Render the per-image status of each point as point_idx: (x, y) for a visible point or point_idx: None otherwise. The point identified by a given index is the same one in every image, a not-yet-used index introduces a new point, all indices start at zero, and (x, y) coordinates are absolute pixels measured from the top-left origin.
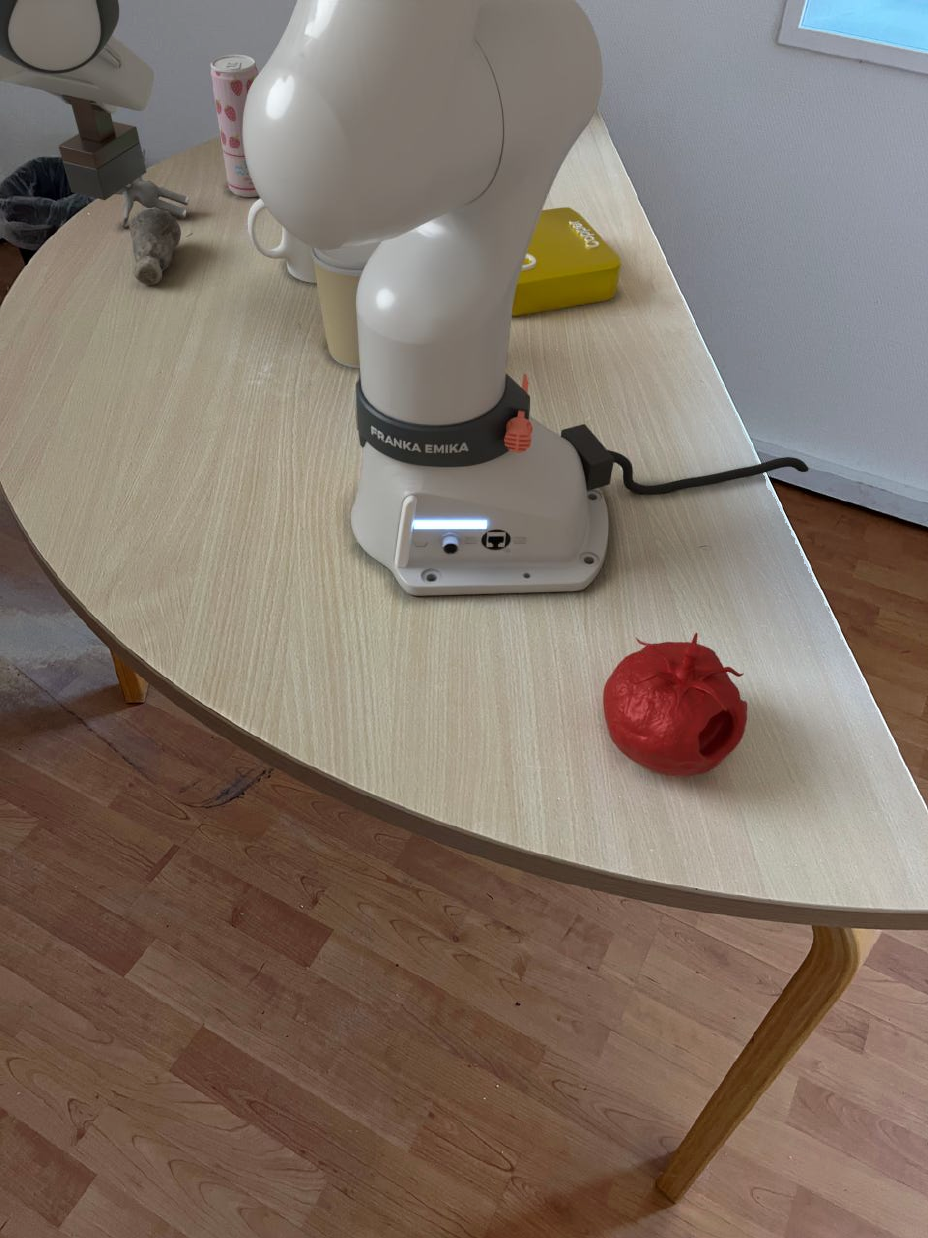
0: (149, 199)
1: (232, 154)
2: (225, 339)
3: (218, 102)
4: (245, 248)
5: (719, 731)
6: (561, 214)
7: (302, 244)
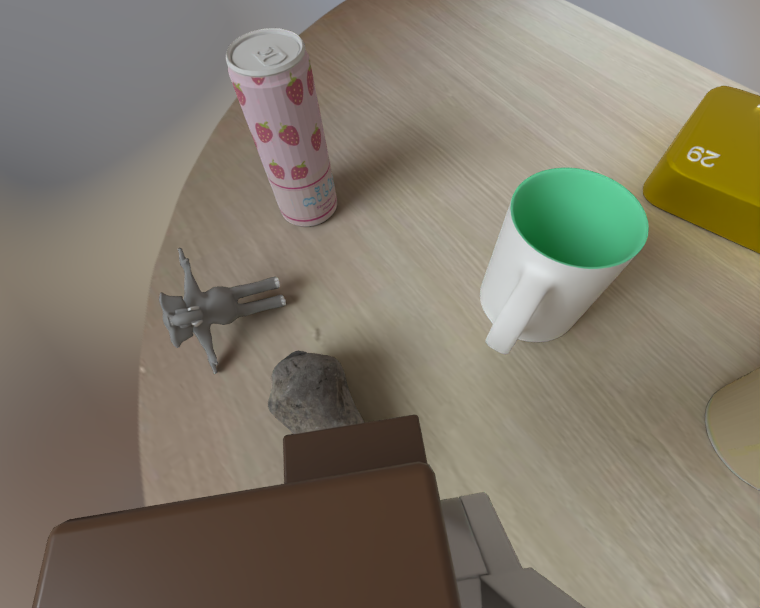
0: (233, 317)
1: (298, 187)
2: (592, 552)
3: (264, 126)
4: (409, 319)
5: None
6: (732, 99)
7: (568, 315)
